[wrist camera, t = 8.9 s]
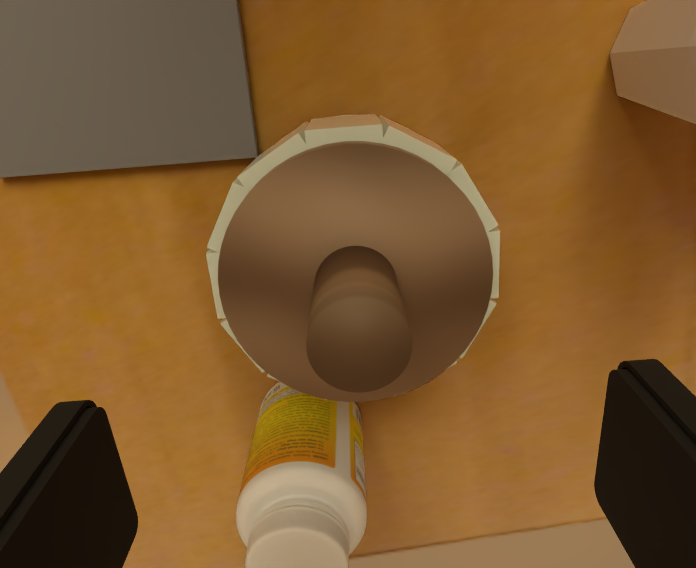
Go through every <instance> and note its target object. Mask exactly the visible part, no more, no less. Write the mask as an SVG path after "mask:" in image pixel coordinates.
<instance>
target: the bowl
mask: <svg viewBox="0 0 696 568" xmlns="http://www.w3.org/2000/svg"><path fill="white" fill-rule="evenodd" d="M344 141H366V142H375V143H382V144H386V145H390V146H394V147H398V148H401V149H403V150H406V151H408V152H411V153H413V154H416V155H418V156H419V157H421V158H423V159H424V160H426V161H428V162H430V163H431V164H433V165H434V166H435V167H437V168H438V169H439V170H441V171H442V172H443V173H444V174H446V175H447V176H448V177H449V178H450V179H451V180H452V181H453V182H454V183H455V184H456V185H457V186H458V187H459V189H460V190H461V191H462V192H463V193H464V194H465V195H466V197H467V198H468V199H469V201H470V202H471V203H472V205H473V206H474V208H475V209H476V211H477V213H478V215H479V217H480V219H481V221H482V223H483V225H484V228H485V231H486V233H487V236H488V239H489V243H490V248H491V253H492V261H493V283H492V292H491V297H490V301H489V305H488V309H487V311H486V314H485V317H484V319H483V322H482V324H481V326H480V328H479V330H478V332H477V334H478V333H479V331H480V330H481V328H482V326H483V325H484V323H485V322H486V320H487V318H488V317H489V315H490V314H491V312H492V310H493V309H494V307H495V306H496V304H497V303H496V302H495V300H494V299H493V298H499V259H500V230H499V229H498V228H497V226H498V223H497V222H496V220H495V218H494V217H493V215H492V213H491V212H490V210H489V208H488V207H487V205H486V203H485V202H484V200H483V198H482V197H481V195H480V193H479V192H478V190H477V188H476V187H475V185H474V183H473V182H472V180H471V178H470V177H469V175H468V173H467V172H466V170H465V168H464V167H463V165H462V164H461V163H460V162H459V161H457V159H456V158H454V157H453V156H452V155H451V154H449V153H448V152H447V151H445V150H444V149H443V148H442V147H440V146H439V145H438V144H436V143H435V142H433V141H431V140H429V139H427V138H425V137H423V136H421V135H419V134H417V133H415V132H414V131H412V130H410V129H409V128H407V127H405V126H403V125H401V124H398V123H396V122H394V121H392V120H390V119H388V118H386V117H384V116H382V115H380V116H379V117H377V116H376V115H375V114H364V115H361V114H343V115H336V116H330V117H325V118H314V119H312V120H311V121H310V123H308V121H306V122H304V123H303V124H302V125H300V126H299V127H297V128H296V129H295V130H293V131H292V132H290V133H289V134H287V135H285V136H284V137H283V138H281V139H280V140H279V141H278V142H277V143H275V144H274V145H273V146H271V147H270V148H268V149H267V150H266V151H264V152H263V153H262V154H260V155H259V156H257V157H256V158H255V159H254V160H253V161H252V162H251V163H250V164H249V165H248V166H247V167H246V168H245V169H244V170H243V171H242V172H241V173H240V174H239V175H238V176H237V178H236V179H235V180H234V181H233V183H232V185H231V188H230V190H229V193H228V195H227V198H226V200H225V203H224V205H223V208H222V210H221V213H220V215H219V218H218V220H217V222H216V225H215V227H214V230H213V232H212V235H211V237H210V240H209V242H208V245H207V248H209V250H208V251H207V253H206V257H207V263H208V268H209V274H210V279H211V285H212V290H213V296H214V301H215V307H216V313H217V318H218V319H220V318H223V319H222V321H221V323H220V324H221V325H222V327H223V328H224V329H225V330H226V331H227V333H228V334H229V335H230V336H231V337H232V338H233V340H234V341H235V342H236V343H237V344H238V345H239V347H240V348H241V349H242V350H243V351H244V352H245V354H246V355H247V356H248V357H249V358H250V359H251V361H252V362H253V363H254V364H255V365H256V366H257V368H258V369H259V370H260V371H261V372H262V373H263V372H265V370H263V369H262V368H261V367H260V366H258V364H257V363H256V362H255V361H254V360H253V359H252V358H251V357H250V356H249V355H248V354H247V353H246V351H245V350H244V349H243V347H242V346H241V345H240V344H239V342H238V341H237V339H236V337H235V335H234V334H233V332H232V330H231V328H230V326H229V324H228V321H227V319H226V316H225V314H224V311H223V307H222V303H221V299H220V295H219V286H218V261H219V255H220V250H221V244H222V241H223V238H224V235H225V232H226V229H227V227H228V225H229V223H230V221H231V219H232V217H233V215H234V213H235V211H236V210H237V208H238V207H239V205H240V204H241V202H242V201H243V199H244V198H245V197H246V195H247V194H248V193H249V191H250V190H251V189H252V188H253V187H254V186H255V185H256V184H257V183H258V182H259V180H260V179H261V178H262V177H264V176H265V175H266V174H267V173H268V172H270V171H271V170H272V169H273V168H274V167H276V166H277V165H279V164H281V163H282V162H284V161H285V160H287V159H289V158H290V157H292V156H294V155H297V154H299V153H301V152H303V151H306V150H308V149H311V148H315V147H318V146H321V145H325V144H330V143H337V142H344ZM477 334H476V335H475V337H476V336H477ZM475 337H474V339H475ZM474 339H473V340H472V342H473V341H474ZM472 342H471V343H470V344H469V346H468V347H467V349H466V350H465V351H464V352H463V353H462V354H461V356H460V357H459V358H463V357H464V355H465V353H466V352H467V350H468V349H469V347H470V345H471V344H472ZM457 363H458V361H457V360H456V361H455V362H454V363H453V364H452V365H451V366H453V365H455V364H457ZM451 366H449V367H448V368H450V367H451ZM448 368H447V369H448ZM267 377H270V378H272V379H275V378H274V377H272V376H271V375H270V374H268V373H267ZM275 380H277V379H275ZM277 381H279V380H277ZM403 394H405V393H403ZM403 394H402V395H403ZM394 397H397V396H394ZM322 399H323V398H322ZM324 400H327V399H324Z"/></svg>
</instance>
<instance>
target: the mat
mask: <svg viewBox="0 0 696 568" xmlns="http://www.w3.org/2000/svg"><path fill="white" fill-rule="evenodd" d="M257 156H259V151H258V144H257V136H256V129H255V121H254V114H253V106H252V99H251V91H250V84H249V76H248V69H247V62H246V54H245V47H244V39H243V32H242V24H241V17H240V9H239V2H238V0H0V178H4V177H17V176H29V175H42V174H54V173H67V172H80V171H92V170H105V169H117V168H130V167H143V166H155V165H168V164H180V163H193V162H206V161H218V160H231V159H243V158H256V157H257Z"/></svg>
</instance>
